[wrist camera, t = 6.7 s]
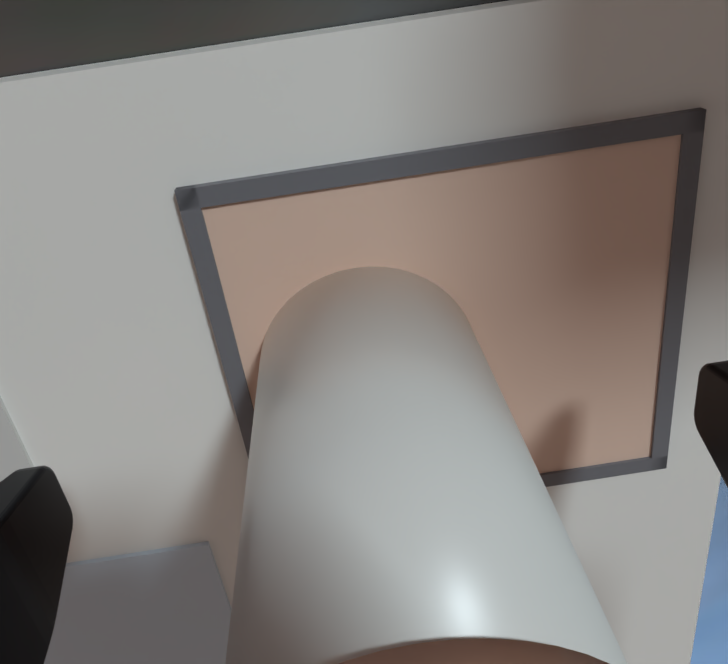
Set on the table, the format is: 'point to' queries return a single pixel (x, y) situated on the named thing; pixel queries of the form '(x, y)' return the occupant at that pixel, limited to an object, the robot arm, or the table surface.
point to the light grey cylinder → (397, 496)
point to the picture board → (363, 249)
